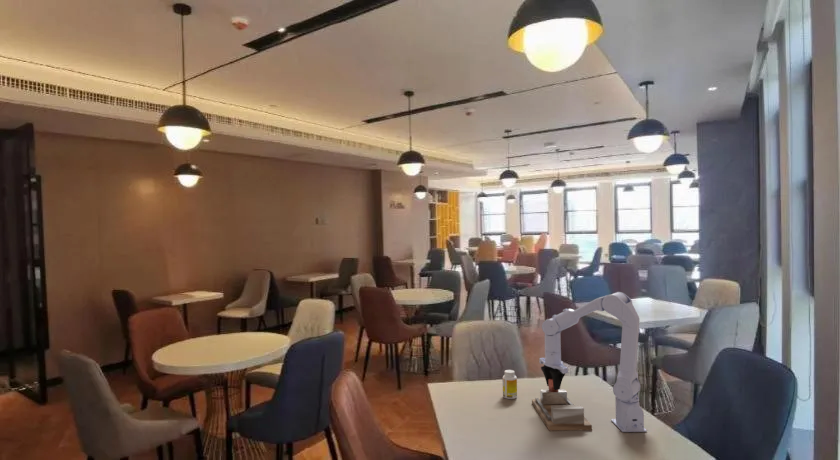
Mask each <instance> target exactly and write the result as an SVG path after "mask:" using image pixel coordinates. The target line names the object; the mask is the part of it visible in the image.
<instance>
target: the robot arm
mask: <svg viewBox="0 0 840 460" xmlns="http://www.w3.org/2000/svg"><path fill="white" fill-rule="evenodd" d="M596 311H600V312H604V311H605V312H606V313H608V314H609V315H611V316H614V317H615V318H616V319H617V320H618V321H619V322H621V324H622V326H621V327H622V329H621V342H620V356H619V357H620V358H619V371H618V373H617V376H616V381H615V383H614V385H613V388H612V392H613V395H614V396H615V399H614V400H615V418H611V419H610V420H611V422H612V424H614V425H615V426H616V427H617V428H618V429H619V430H620V431H621V432H622V433H637V432H638V433H639V432H640V433H641V432H642V433H643V432H644V433H645V432H647V431H648V430H647V429H646V428H645V421H644V420H645V418H644V416H645V414H644V409H642V407H641V406H640V398H639V395H638V393H639V391H640V390H641V383H640V381H639V373H638V371H637V365H638V364H637V363H638V349H639V347H638V345H639V332H640V316H639V315H638V312H637V311H636V309H635V307H634V305H633V299H631V298H630V297H629V296H628V295H627V294H626V293H625V292H621V291H616V292H613V293H612V294H606V295H604V296H600V297H597V298H595V299H593V300H591V301H589V302H587V303H585V304H583V305H581V306H580V307H578V308H576V309H573V308H564V309H562V312H560V313H558V314H553V315H552V317H551V318H547V319H545V320H544V321H543V322H542V323H541V324H542V325H541V329H542V332H543V333H544V357H539V359H538V360H539V361H538V362H539V364H540V365H542V364H543V366H540V370H541V371H542V373H543V375H544V379H545V382H546V386H547V387H549V385H548V378H551V377H552V379H553V387H554V390H559V389H561V385H562V381H563V379H564V377H565V375H566V374H568V373H569V368H568V367H567V366H566V365H564V361H563V360H562V349H561V348H562V346H561V345H562V343H561V342H562V341H561V340H562V339H561V334H562V332H563V331H565V330H566V329H568V328H571V327H572V326H574V325H576V324H579V321H580V318H582V317H585V316H587V315H589V314H591V313H593V312H596Z"/></svg>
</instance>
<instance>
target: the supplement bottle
mask: <svg viewBox="0 0 840 460" xmlns="http://www.w3.org/2000/svg"><path fill="white" fill-rule="evenodd" d="M502 396H503V398H505V399H507V400H514V399H517V398H518V378H517V375H516V373H515V370H513V369H506V370H504V375H503V376H502Z"/></svg>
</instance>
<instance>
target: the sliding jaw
mask: <svg viewBox="0 0 840 460" xmlns="http://www.w3.org/2000/svg"><path fill="white" fill-rule="evenodd" d="M548 385H549V386H548V389H540V390H539V391H540V392H539V393H540V395H539V397H540V398H539V399H540V401H541V403H542V404H567V398H568V392H567V390H566V389H565V388H562V389H561V388H560V389H559V390H554V387H553V379H552V377H551V378H548Z"/></svg>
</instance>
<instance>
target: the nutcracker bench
mask: <svg viewBox="0 0 840 460" xmlns="http://www.w3.org/2000/svg"><path fill="white" fill-rule="evenodd" d="M531 404H532V406H533V407H534V409H535V411H536V412H537V414H538V415H539V417H540V419H541V420H542V422H543V423H544V425H545V426H546V428H547V429H548V431H593V425H592V424H591V422H590V421H589V420H588V419H587V417H585V408H584V407H583V406H582V404H574V403H573V402H572V400H571V399H570V398H568V397H567V404H542V403H541V401H540V398H539V397H535V399H531Z"/></svg>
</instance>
